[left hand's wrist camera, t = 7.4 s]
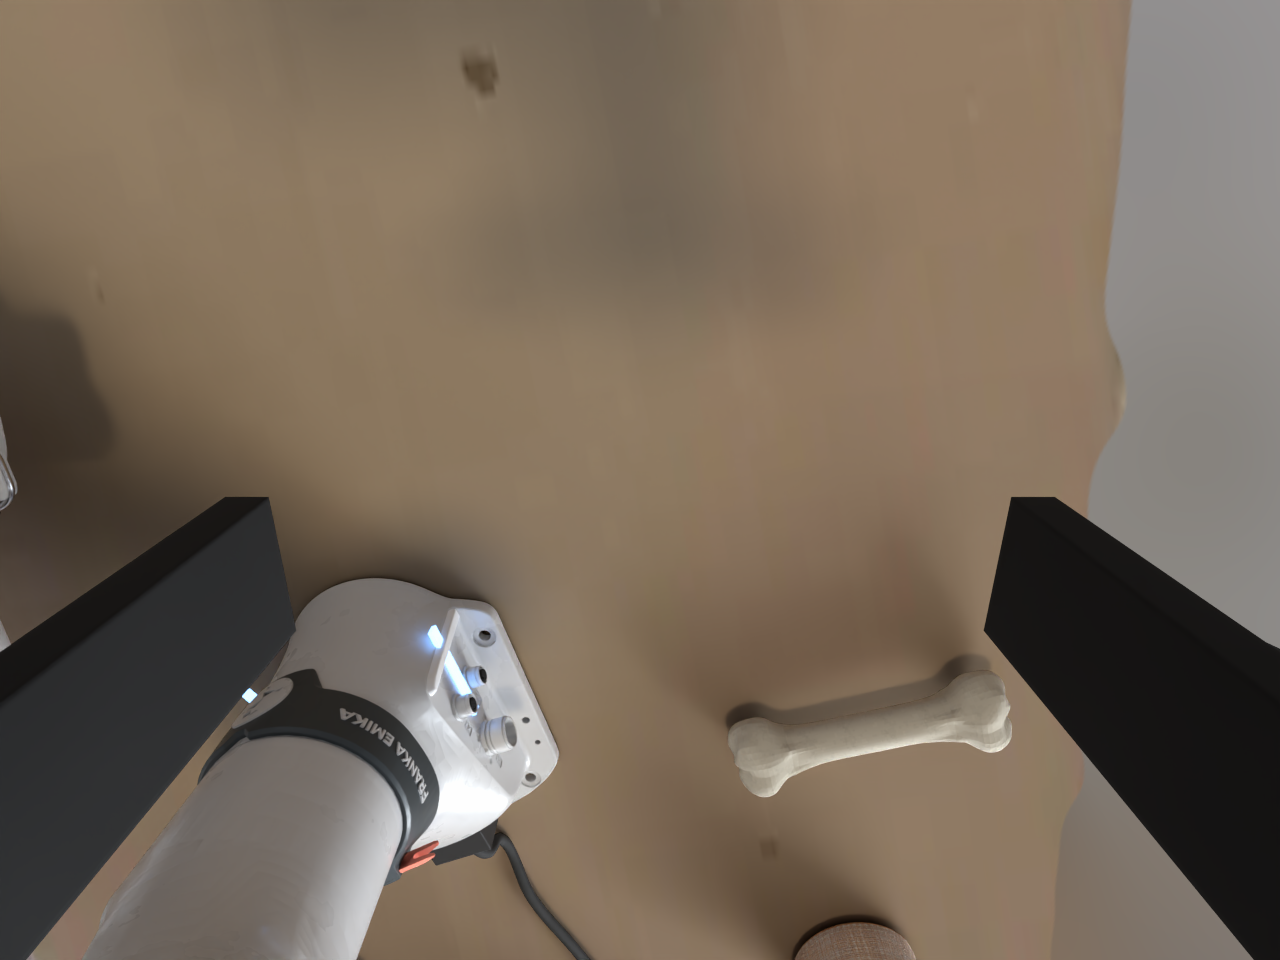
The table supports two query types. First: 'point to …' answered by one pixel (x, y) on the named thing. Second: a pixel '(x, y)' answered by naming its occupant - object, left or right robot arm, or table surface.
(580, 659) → the table surface
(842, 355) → the table surface
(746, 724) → the dog toy
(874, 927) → the planter
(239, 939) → the right robot arm
